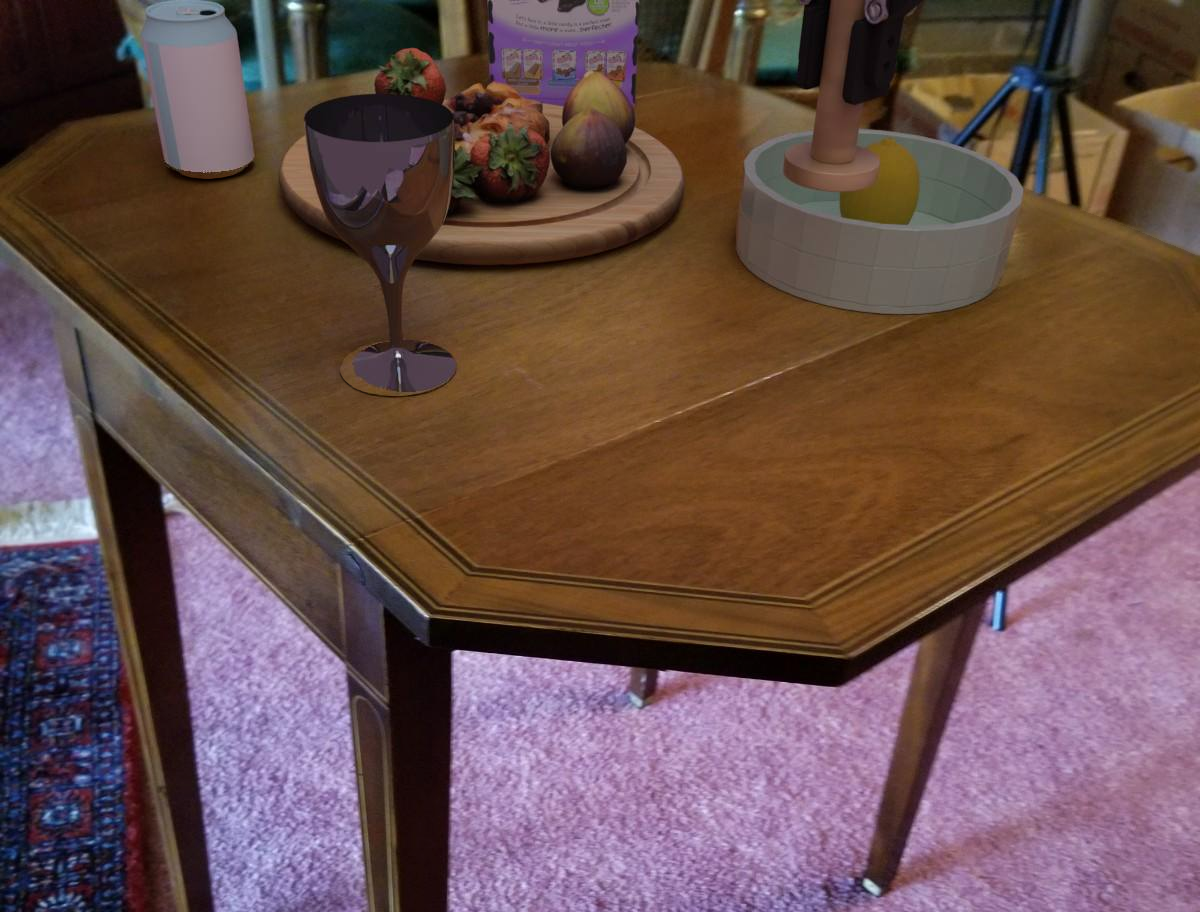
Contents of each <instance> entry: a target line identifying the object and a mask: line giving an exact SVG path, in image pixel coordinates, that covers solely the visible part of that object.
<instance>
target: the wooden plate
mask: <svg viewBox="0 0 1200 912" xmlns="http://www.w3.org/2000/svg"><path fill="white" fill-rule="evenodd" d="M377 67H378V68H380V71H379V73H378V74H377V75H376V76H375V79H374V83H373V86H374V94H400V95H408V96H415V97H420V98H425V99H428V100H432V101H435V102H437V103H440V104H442V105H444V106H445V107H447V108H448V109H449V110H450V111H451V112H452V114H453V117H454V134H455V169H454V179H453V188H452V194H451V199H450V204H449V209H448V212H447V215H446V218H445V220H444V223H443V224H442V226H441V228H440V229H439V231H438V232H437V234H436V235H435V236H434V237H433V238H432V239H431V241H430V242H429V243H428V244H427V245H426V246H425V248H424V249H423V250H422V251H421V252H420V254H419V255H418V256H417V257H416V258H415V260H417V261H424V262H434V263H441V264H442V263H443V264H453V265H475V266H478V265H479V266H499V265H507V266H508V265H510V266H511V265H525V264H538V263H548V262H555V261H556V262H557V261H563V260H569V259H577V258H582V257H586V256H591V255H596V254H600V253H604V252H607V251H611V250H614V249H617V248H620V247H623V246H625V245H628V244H630V243H632V242H634V241H637V240H639V239H642V238H643V237H645V236H646V235H649V234H651V233H653V231H655V230H657V229H658V228H660V227H662V226H663V225H664V224H665V223H666V222H668V221H669V220H670V219H671V218H672V217H673V215H674V213H675V212H676V211H677V210H678V208H679V206H680V205H681V203H682V201H683V197H684V193H685V189H686V187H685V186H686V179H685V176H684V170H683V168H682V166H681V164H680V162H679V160H678V158H676V155H674V153H673V152H672V151H671V150H670V149H669V148H668V147H667V146H665V144H663V143H662V142H661V141H659V139H656V138H655V137H653V136H652V135H651V134H649V133H647V132H646V131H644V130H643V129H639V128H638V127H635V126H636V115H635V110H634V108H633V107H632V105H631V103H630V101H629V100H628V98H627V97H626V95H625V94H624V92H623V91H622V90H621V89H620V88H619V87H618V86H617V85H616V84H615V83H614V82H613V81H612V80H610V79H609V78H608V77H606V76H605V75H603V74H601V73H599V72H596V71H595V72H594V71H591V70H590V71H588V72H586V73H585V74H584V75H583V76H582V77H581V78H580V80H579V81H578V82H577V83H576V85H575V86H574V87H573V88H572V90H571V91H570V92H569V94H568V96H567V98H566V101H565V103H564V106H558V105H551V104H544V103H540V102H539V101H536V100H531V99H526V98H523V97H520V95H519V94H518V93H517V91H516V90H515V89H514V88H512V87H510V86H508V85H507V84H504V83H498V82H495V81H493V82H492V83H490V84H487V87H486V88H484V86H483V83H481V82H480V83H479V82H478V83H474V84H472V85H471V86H470V87H468V88H466V89H465V90H463V91H461V92H458V93H457V94H455V95H454V96H453V97H451V98H450V99H448V98H447V99H445V97H446V93H447V85H446V82H445V78H444V77H443V75H442V73H441V71H440V69H439V67H438V65H437V63H436V62H435V61H434V59H433V58H432V57H431V56H430V55H429V54H428V53H427V52H424V51H421V50H420V49H418V48H417V47H416V48H415V47H410V48H402V49H401V50H399V51H397V52H396V53H395V54H391V55H390V57H389V62H387V63H386V65H385V66H383V65H377ZM278 184H279V188H280V191H281V194H282V195H283V197H284V199H285V201H286V203H287V204H288V206H290V208H291V210H293V211H294V213H295V214H296V215H298V216H299V217H300V218H301V219H302V220H303V221H304V222H305V223H307V224H308V225H310V226H311V227H313V228H315V229H316V230H318V231H320V232H322V233H324V234H326V235H328V236H331V237H332V238H335V239H336V240H340V241H342V242H345V241H344V240H343V239H342V238H341V237H340V236H339V235H338V234H337V233H336V231H335V230H334V229H333V228H332V226H331V225H330V224H329V222H328V220H327V218H326V216H325V214H324V211H323V209H322V206H321V203H320V200H319V197H318V195H317V191H316V188H315V184H314V180H313V176H312V172H311V169H310V163H309V157H308V151H307V145H306V136H305V135H303V136H302V137H300V138H299V139H298V140H296V142H295V143H293V145H292V146H291V147H290V148H289V149H288V151H287V152H286V153H285V155H284V156H283V157H282V160H281V163H280V165H279V171H278ZM345 243H346V242H345Z"/></svg>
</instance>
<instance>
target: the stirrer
mask: <svg viewBox="0 0 1200 912" xmlns="http://www.w3.org/2000/svg"><path fill="white" fill-rule="evenodd" d="M864 7H865V0H831V2H830V10H829V18H828V25H827V33H826V40H825V48H824V55H823V63H822V71H821V78H820V86H818V94H817V101H816V109H815V116H814V123H813V124H814V125H813V130H814V131H813V130H812V131H813V139H812V141H811V142H804V143H800V144H796V145H794V146H792V147H790V148H788V149H787V150H786V152H785V156H784V164H783V174H784V176H785V177H786V178H787V179H788V180H790V181H791V182H793V183H795V184H797V185H800V186H803V187H806V188H810V189H814V190H820V191H828V192H849V191H857V190H862V189H865V188H868V187H870V186H872V185H873V184H874V183H875V182H876V181H877V178H878V172H879V166H880V159H879V157H878V156H877V155H876V154H875V153H873V152H872V151H870V150H868V149H866V148H863V147H860V146H857V139H858V133H859V129H860V126H861V119H862V113H863V107H864V102H863V103H860V104H857V105H852V104H849V103H846V102H845V101H844V99H843V97H842V93H843V86H844V79H845V72H846V65H847V58H848V51H849V44H850V37H851V30H852V26H853V24H854V21H856V20H860V19H864V18H865V14H864Z"/></svg>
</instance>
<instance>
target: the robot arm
mask: <svg viewBox="0 0 1200 912" xmlns="http://www.w3.org/2000/svg"><path fill="white" fill-rule="evenodd" d="M796 2H797V3H798V4H799V5H801V6H803V13H802V22H801V32H800V37H799V47H798V54H797V56H798V57H797V58H798V63H797V68H796V69H797V70H796V79H795V85H796V87H797V88H799V89H802V90H805V91H807V90H811V89H814V88H819V86H820V78H821V71H822V63H823V55H824V48H825V40H826V33H827V25H828V18H829V10H830V2H831V0H796ZM922 2H924V0H865V7H864V14H865V18H864V19H860V20H856V21H854V24H853V26H852V30H851V37H850V44H849V51H848V58H847V65H846V72H845V79H844V86H843V93H842V97H843V99H844V101H845V102H846V103H849V104H852V105H857V104H860V103H863V104H864V103H866V102H870V101H873V100H876V99H879V98H883V97H885V96H886V95H887V94H888V93H889V92H890V88H891V83H892V81H893V79H894V76H895V73H896V66H897V62H898V55H899V49H900V44H901V43H900V42H901V36H902V32H903V26H904V25H903V24H904V18H905V17H908V16H910V15H914V13H915V12H916V10H917V7H918V5H920V4H921V3H922Z"/></svg>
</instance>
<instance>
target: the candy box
mask: <svg viewBox="0 0 1200 912" xmlns="http://www.w3.org/2000/svg"><path fill="white" fill-rule="evenodd" d="M486 2H487V4H486V6H487V35H488V40H487V41H488V73H489V82H488V83H489V84H490V83H492V82H493V81H495V82H498V83H504V84H507V85H508V86H510V87H512V88H514V89H515V90H516V91H517V93H518V94H519V95H520V97H523V98H526V99H531V100H536V101H539V102H540V103H544V104H551V105H558V106H564V103H565V101H566V98H567V96H568V94H569V92H570V91H571V90H572V88H573V87H574V86H575V85H576V83H577V82H578V81H579V80H580V78H581V77H582V76H583V75H584V74H585V73H586V72H588V71H590V70H591V71H594V72H595V71H596V72H599V73H601V74H603V75H605V76H606V77H608V78H609V79H610V80H612V81H613V82H614V83H615V84H616V85H617V86H618V87H619V88H620V89H621V90H622V91H623V92H624V94H625V95H626V97H627V98H628V100H629V101H630V103H631V105H632V107H633V109H635V108H636V92H637V91H636V89H637V68H638V67H637V63H638V61H637V60H638V40H639V37H638V36H639V14H640V0H486ZM489 84H488V85H489Z"/></svg>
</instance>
